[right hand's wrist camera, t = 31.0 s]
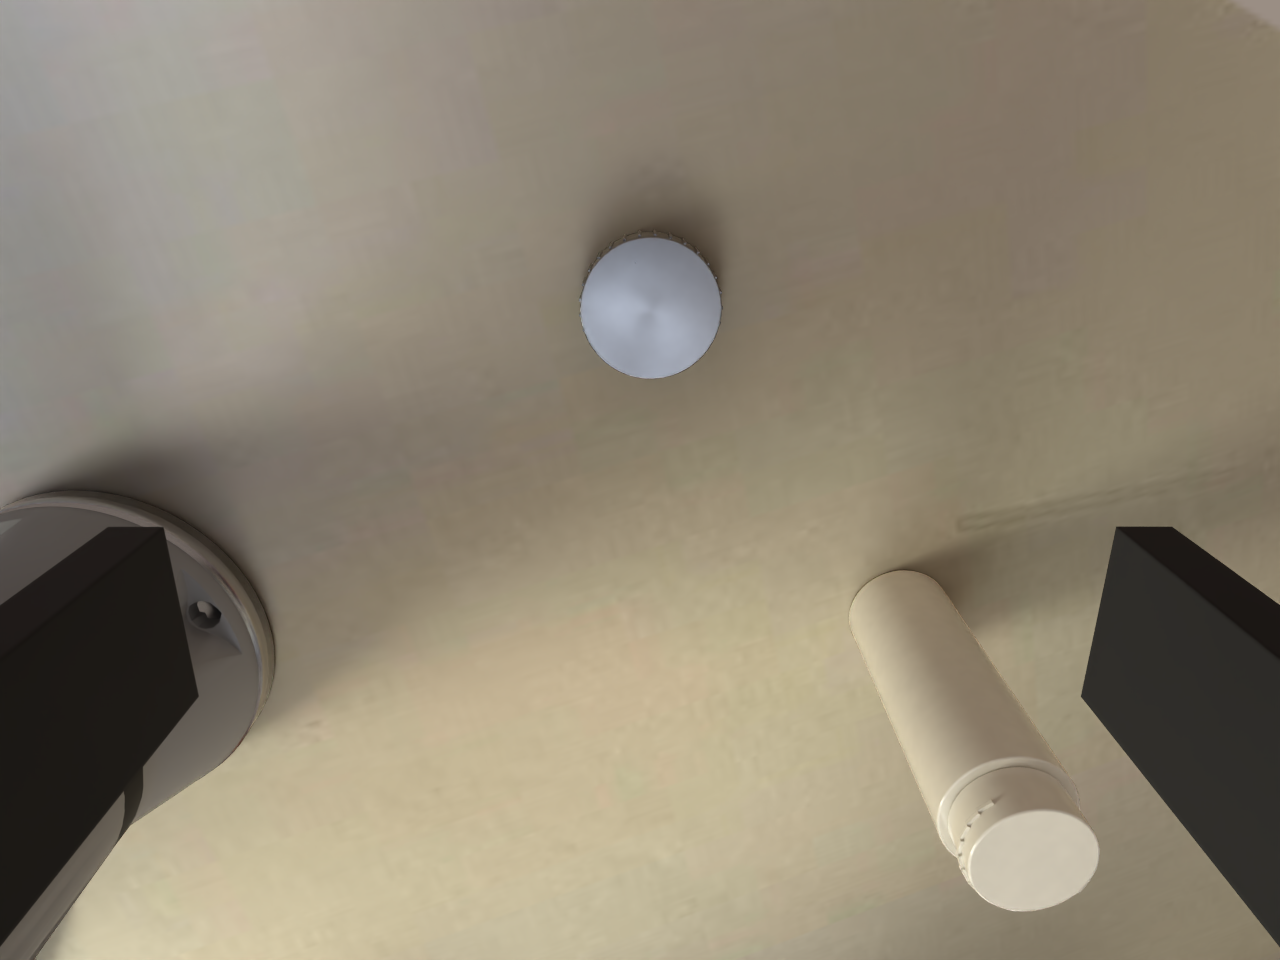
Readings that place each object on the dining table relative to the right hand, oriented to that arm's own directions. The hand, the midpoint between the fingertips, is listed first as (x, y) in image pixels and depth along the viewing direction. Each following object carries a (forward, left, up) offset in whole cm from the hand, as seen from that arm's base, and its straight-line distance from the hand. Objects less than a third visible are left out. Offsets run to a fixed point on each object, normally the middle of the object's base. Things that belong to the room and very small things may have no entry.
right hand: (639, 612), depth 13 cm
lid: (0, 0, -24) cm, 24 cm away
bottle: (-10, -16, -26) cm, 32 cm away
